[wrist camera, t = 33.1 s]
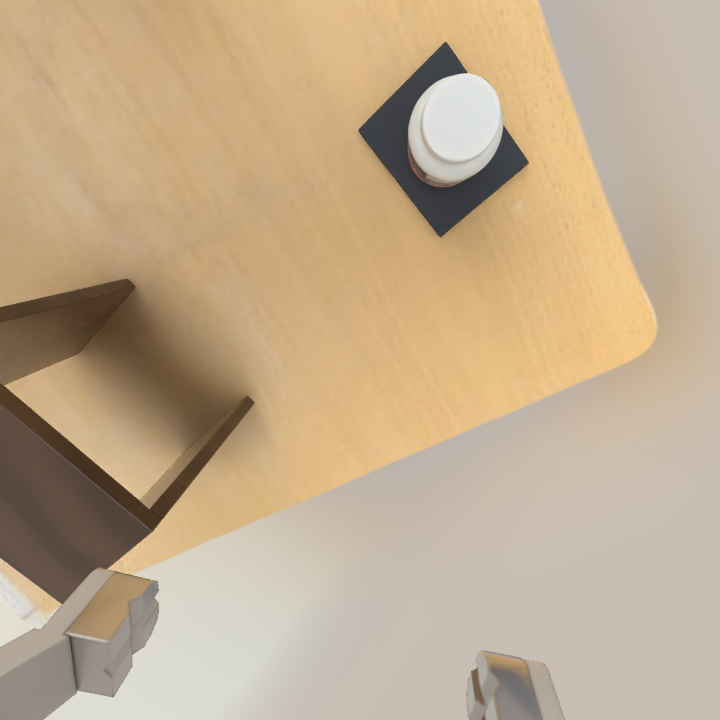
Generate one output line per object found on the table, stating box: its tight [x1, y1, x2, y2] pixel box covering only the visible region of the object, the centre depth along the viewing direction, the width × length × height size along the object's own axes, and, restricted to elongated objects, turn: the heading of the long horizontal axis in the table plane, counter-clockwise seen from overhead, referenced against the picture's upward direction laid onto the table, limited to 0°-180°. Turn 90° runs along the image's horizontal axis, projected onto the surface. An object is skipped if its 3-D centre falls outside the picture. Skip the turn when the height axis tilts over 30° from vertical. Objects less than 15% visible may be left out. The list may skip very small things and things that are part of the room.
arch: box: [0, 279, 254, 604], centre depth 31 cm, size 10×16×17 cm, turn 42°
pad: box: [359, 42, 529, 237], centre depth 30 cm, size 10×8×1 cm
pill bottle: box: [408, 73, 503, 187], centre depth 25 cm, size 5×5×10 cm
